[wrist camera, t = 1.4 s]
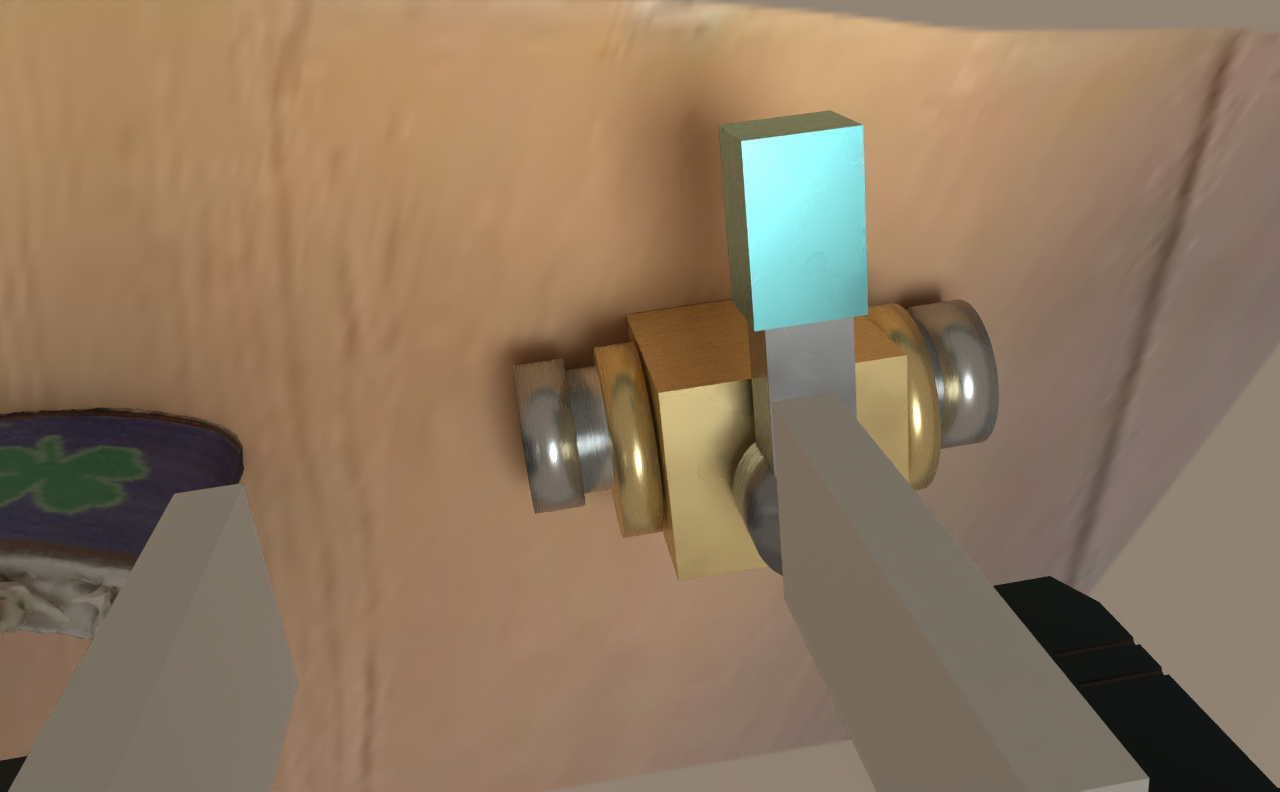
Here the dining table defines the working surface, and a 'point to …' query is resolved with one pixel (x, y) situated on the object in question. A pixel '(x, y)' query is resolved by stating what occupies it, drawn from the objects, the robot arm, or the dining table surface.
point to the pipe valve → (735, 417)
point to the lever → (793, 278)
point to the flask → (92, 505)
